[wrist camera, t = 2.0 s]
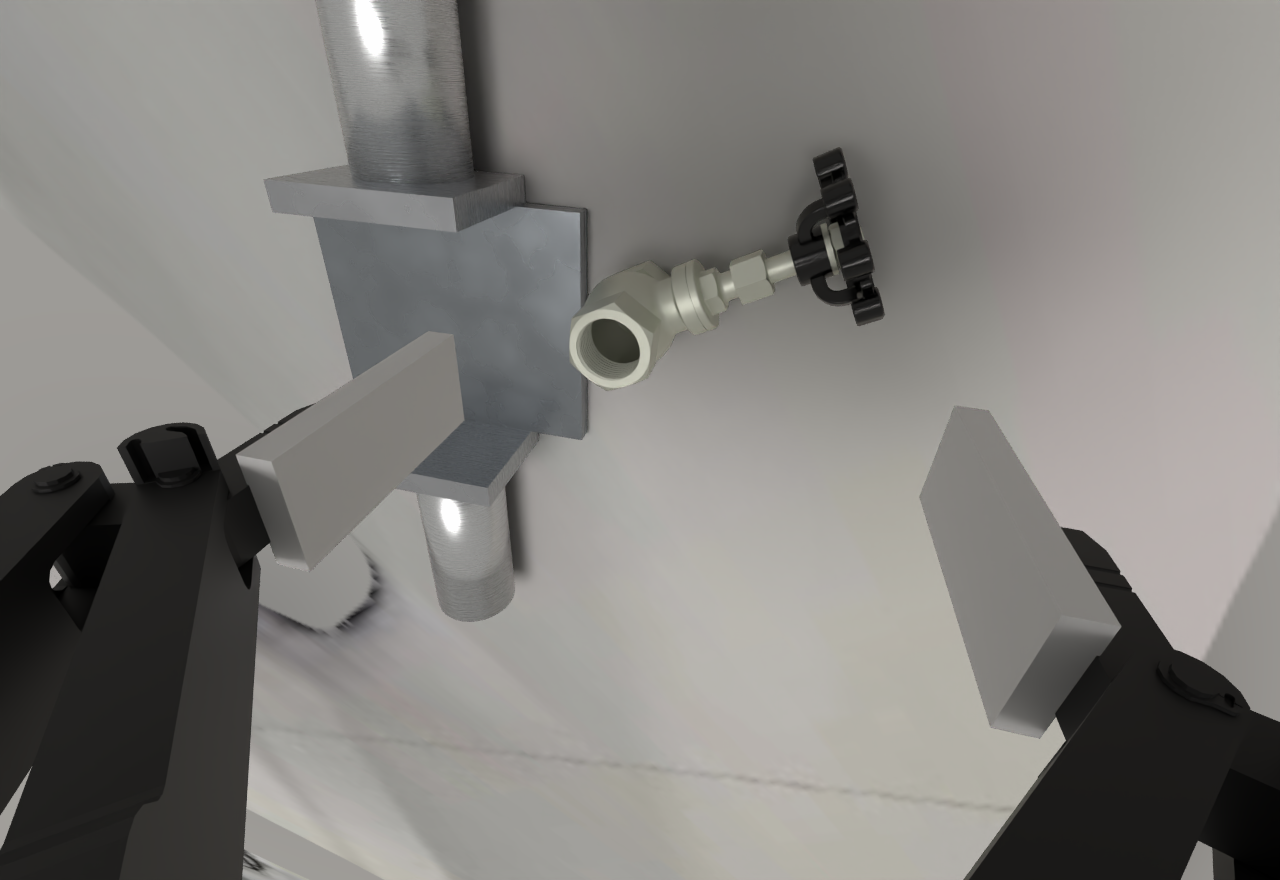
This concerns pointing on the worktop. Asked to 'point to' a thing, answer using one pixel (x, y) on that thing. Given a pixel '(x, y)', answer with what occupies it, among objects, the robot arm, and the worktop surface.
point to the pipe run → (444, 275)
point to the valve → (723, 288)
